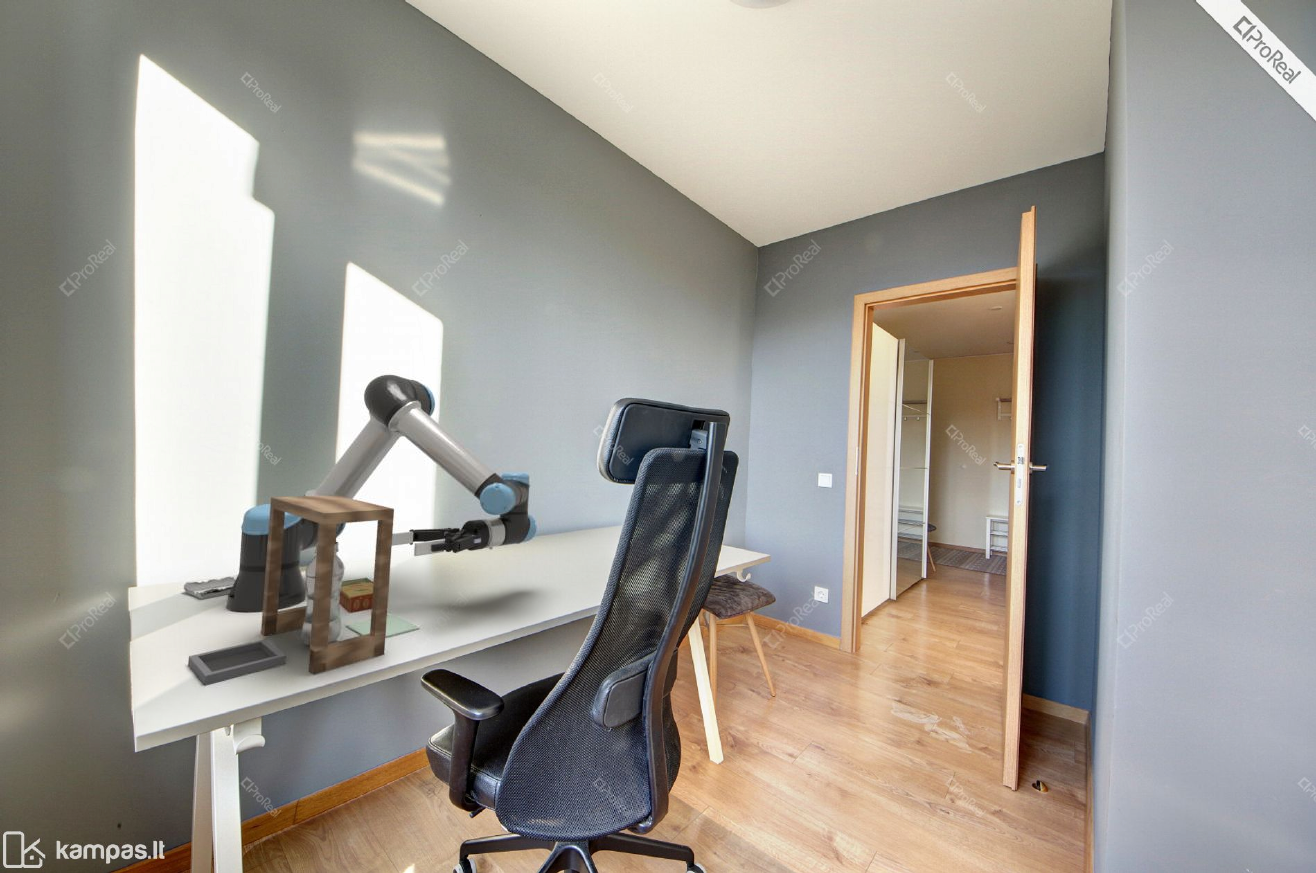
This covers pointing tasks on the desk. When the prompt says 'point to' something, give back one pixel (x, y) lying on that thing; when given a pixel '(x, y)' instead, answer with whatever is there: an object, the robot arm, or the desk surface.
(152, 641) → the desk surface
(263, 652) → the grey shallow rectangular tray
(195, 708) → the desk surface
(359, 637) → the wooden stool
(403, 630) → the pad
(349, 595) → the carton
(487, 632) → the desk surface
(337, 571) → the plastic bottle
